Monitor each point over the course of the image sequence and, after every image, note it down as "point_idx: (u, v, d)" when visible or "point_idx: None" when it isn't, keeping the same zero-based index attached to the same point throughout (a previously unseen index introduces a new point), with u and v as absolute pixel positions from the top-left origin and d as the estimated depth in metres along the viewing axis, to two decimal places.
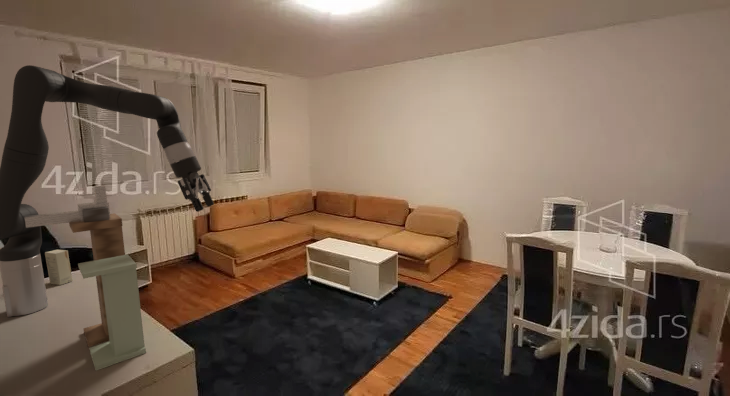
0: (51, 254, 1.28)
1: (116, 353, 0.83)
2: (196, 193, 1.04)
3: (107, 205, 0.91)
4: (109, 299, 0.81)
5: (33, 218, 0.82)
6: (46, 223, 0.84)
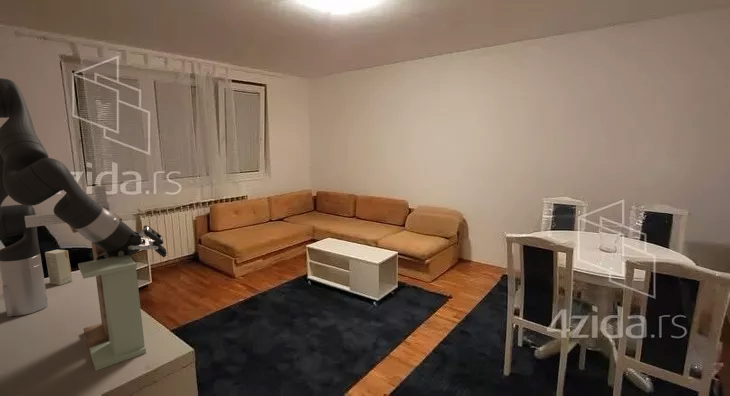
0: (51, 254, 1.28)
1: (116, 353, 0.83)
2: None
3: (107, 205, 0.91)
4: (109, 299, 0.81)
5: (33, 218, 0.82)
6: (46, 223, 0.84)
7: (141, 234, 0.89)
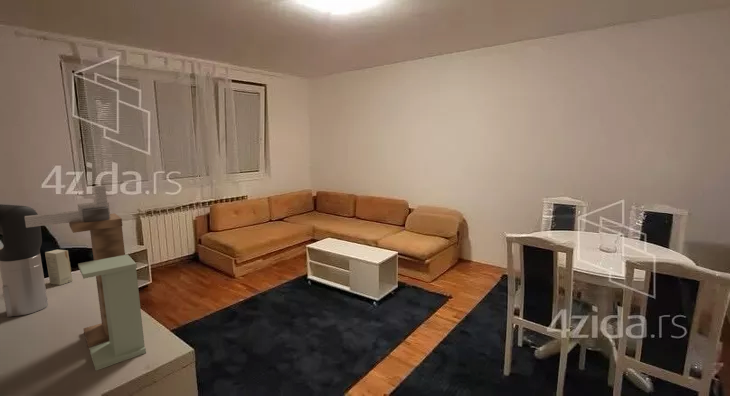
0: (51, 254, 1.28)
1: (116, 353, 0.83)
2: None
3: (107, 205, 0.91)
4: (109, 299, 0.81)
5: (33, 218, 0.82)
6: (46, 223, 0.84)
7: None
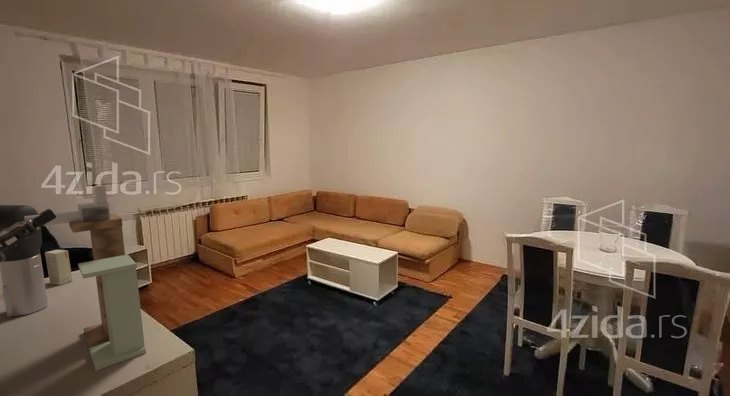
0: (51, 254, 1.28)
1: (116, 353, 0.83)
2: None
3: (107, 205, 0.91)
4: (109, 299, 0.81)
5: (33, 218, 0.82)
6: (46, 223, 0.84)
7: None
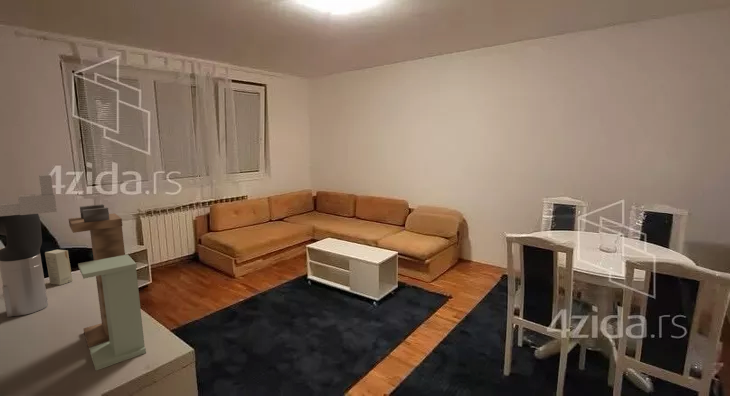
0: (51, 254, 1.28)
1: (116, 353, 0.83)
2: None
3: (53, 197, 0.80)
4: (109, 299, 0.81)
5: None
6: None
7: None
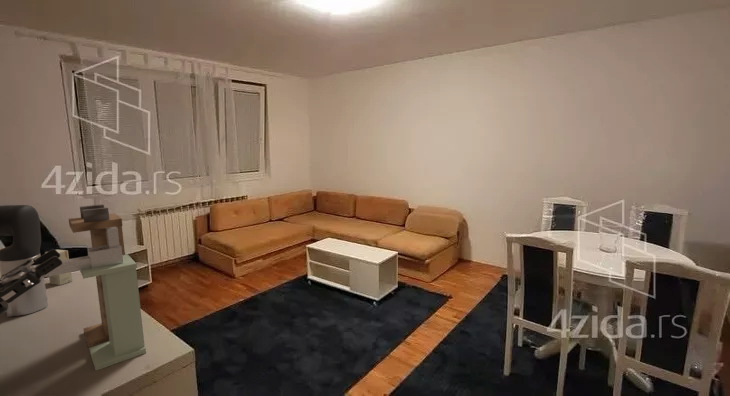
0: None
1: (116, 353, 0.83)
2: None
3: (120, 249, 0.83)
4: (109, 299, 0.81)
5: None
6: (53, 273, 0.76)
7: None
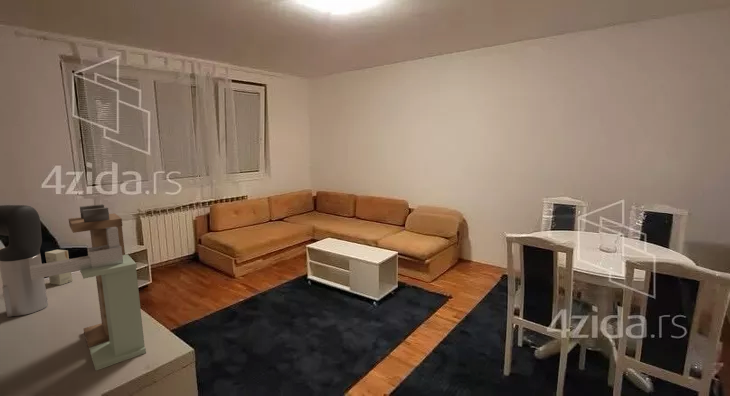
0: (51, 254, 1.28)
1: (116, 353, 0.83)
2: None
3: (120, 249, 0.83)
4: (109, 299, 0.81)
5: (39, 269, 0.74)
6: (53, 273, 0.76)
7: None
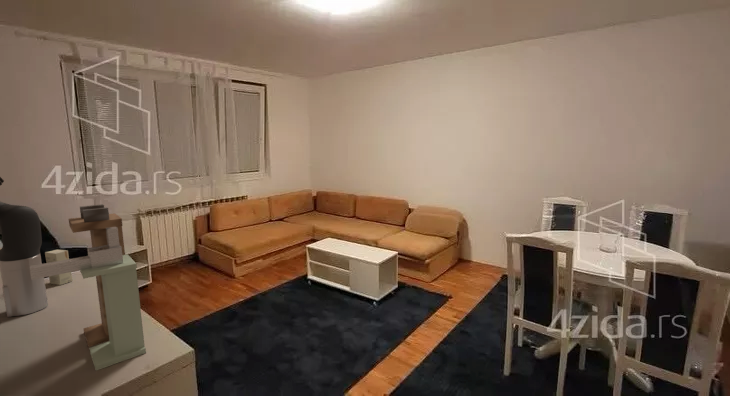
0: (51, 254, 1.28)
1: (116, 353, 0.83)
2: None
3: (120, 249, 0.83)
4: (109, 299, 0.81)
5: (39, 269, 0.74)
6: (53, 273, 0.76)
7: None
